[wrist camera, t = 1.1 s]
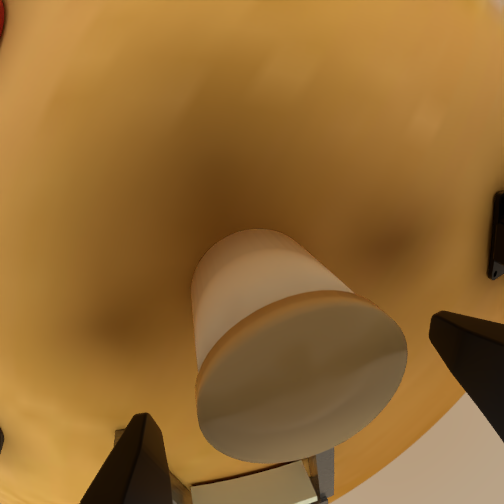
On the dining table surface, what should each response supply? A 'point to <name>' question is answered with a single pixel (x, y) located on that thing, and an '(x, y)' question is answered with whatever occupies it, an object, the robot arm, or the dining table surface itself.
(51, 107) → the dining table surface
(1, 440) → the travel mug
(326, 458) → the grey u-shaped frame
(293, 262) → the jar
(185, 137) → the dining table surface
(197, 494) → the pusher
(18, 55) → the dining table surface
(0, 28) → the canned food
